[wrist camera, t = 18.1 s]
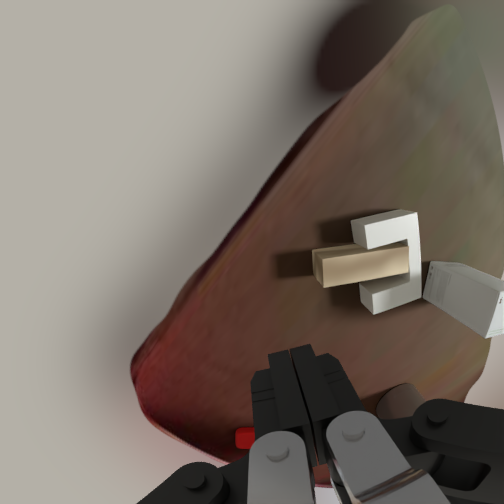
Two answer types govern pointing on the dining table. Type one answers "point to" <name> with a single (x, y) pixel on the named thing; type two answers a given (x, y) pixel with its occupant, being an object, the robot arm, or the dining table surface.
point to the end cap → (382, 233)
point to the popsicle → (245, 437)
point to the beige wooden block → (358, 263)
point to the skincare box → (467, 296)
